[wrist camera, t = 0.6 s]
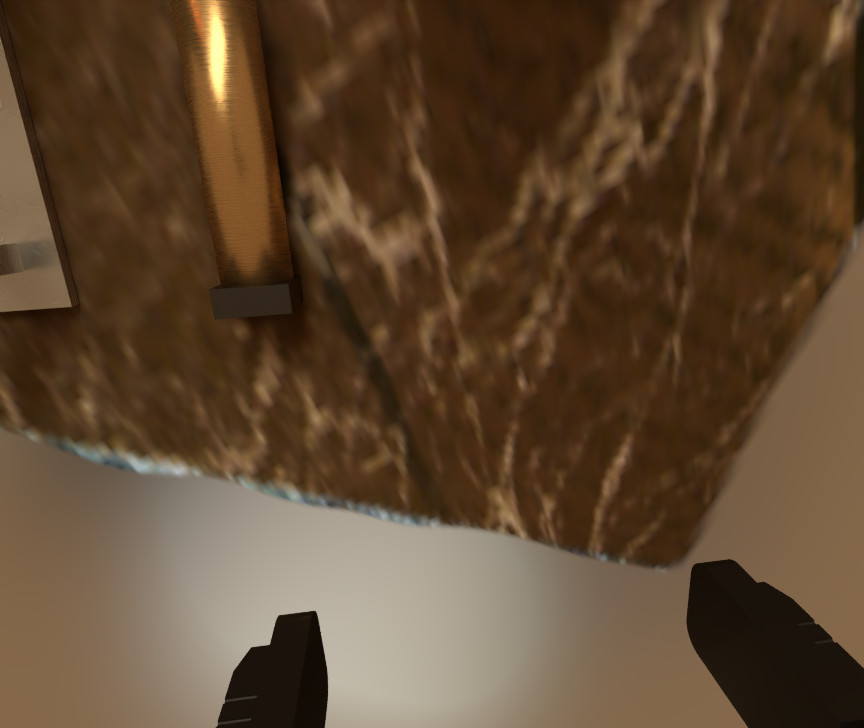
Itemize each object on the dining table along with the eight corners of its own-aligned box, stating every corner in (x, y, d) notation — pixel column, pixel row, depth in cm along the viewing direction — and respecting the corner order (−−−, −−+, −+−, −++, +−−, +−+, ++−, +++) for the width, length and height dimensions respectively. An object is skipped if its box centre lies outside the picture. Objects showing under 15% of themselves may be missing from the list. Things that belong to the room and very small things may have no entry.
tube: (172, -61, 26) (135, -108, 22) (254, -63, 27) (232, -110, 23) (235, 305, 32) (214, 319, 28) (303, 300, 32) (292, 313, 28)
